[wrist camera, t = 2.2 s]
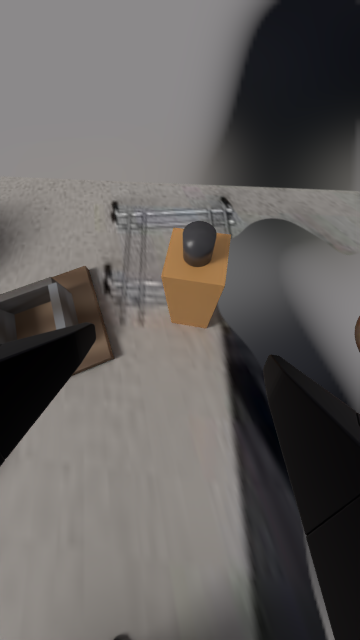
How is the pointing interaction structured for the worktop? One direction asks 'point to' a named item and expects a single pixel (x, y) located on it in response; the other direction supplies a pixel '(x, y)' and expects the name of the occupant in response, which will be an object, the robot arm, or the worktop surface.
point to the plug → (195, 273)
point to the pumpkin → (357, 333)
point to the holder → (55, 312)
